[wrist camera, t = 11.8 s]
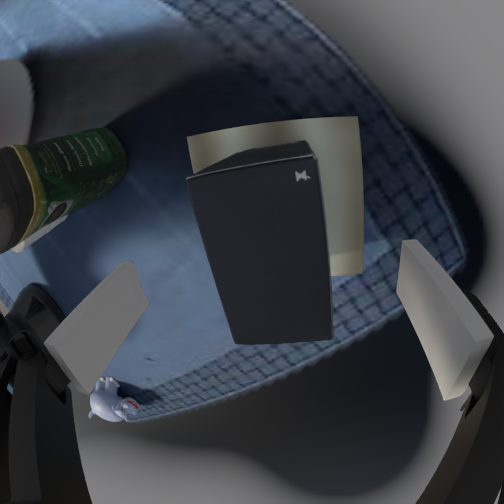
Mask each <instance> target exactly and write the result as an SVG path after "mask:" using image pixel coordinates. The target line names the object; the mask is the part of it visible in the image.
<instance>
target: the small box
mask: <svg viewBox="0 0 504 504" xmlns="http://www.w3.org/2000/svg"><path fill="white" fill-rule="evenodd" d="M186 184H187V187H188V191H189V195H190V198H191V202H192V206H193V209H194V213H195V216H196V220H197V223H198V227H199V230H200V234H201V237H202V241H203V244H204V247H205V251H206V254H207V257H208V261H209V264H210V267H211V271H212V274H213V277H214V280H215V283H216V287H217V290H218V293H219V296H220V300H221V303H222V306H223V309H224V312H225V315H226V318H227V322H228V325H229V328H230V331H231V334H232V337H233V340H234V343H235V344H242V345H254V344H281V343H297V342H310V341H321V340H332V339H333V306H332V284H331V268H330V254H329V245H328V236H327V224H326V215H325V207H324V197H323V191H322V184H321V177H320V170H319V163H318V159H317V157H316V155H315V153H314V152H313V150H312V149H311V148H310V146H309V143H308V142H307V141H305V140H303V141H297V142H294V143H287V144H281V145H275V146H269V147H263V148H253V149H249V150H245V151H242V152H237V153H235V154H233V155H231V156H229V157H227V158H225V159H223V160H221V161H218V162H217V163H215V164H212V165H210V166H209V167H206V168H204V169H203V170H201V171H199V172H197V173H195V174H193V175H190V176H188V177H187V178H186Z"/></svg>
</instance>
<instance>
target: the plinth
mask: <svg viewBox="0 0 504 504" xmlns="http://www.w3.org/2000/svg"><path fill="white" fill-rule="evenodd" d="M303 140H305V141H307V142H308V143H309V146H310V148H311V149H312V150H313V152H314V153H315V155H316V157H317V159H318V163H319V170H320V177H321V184H322V191H323V197H324V207H325V215H326V224H327V236H328V245H329V254H330V268H331V276H338V275H351V274H363V252H364V193H363V171H362V156H361V144H360V133H359V124H358V116H356V117H326V118H310V119H298V120H287V121H278V122H269V123H262V124H254V125H248V126H241V127H235V128H229V129H223V130H218V131H213V132H208V133H203V134H198V135H193V136H189V137H187V141H188V147H189V152H190V158H191V163H192V168H193V173H194V174H195V173H197V172H199V171H201V170H203V169H204V168H206V167H209V166H210V165H212V164H215V163H217V162H218V161H221V160H223V159H225V158H227V157H229V156H231V155H233V154H235V153H237V152H242V151H245V150H249V149H253V148H263V147H269V146H275V145H281V144H287V143H294V142H297V141H303Z"/></svg>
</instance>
